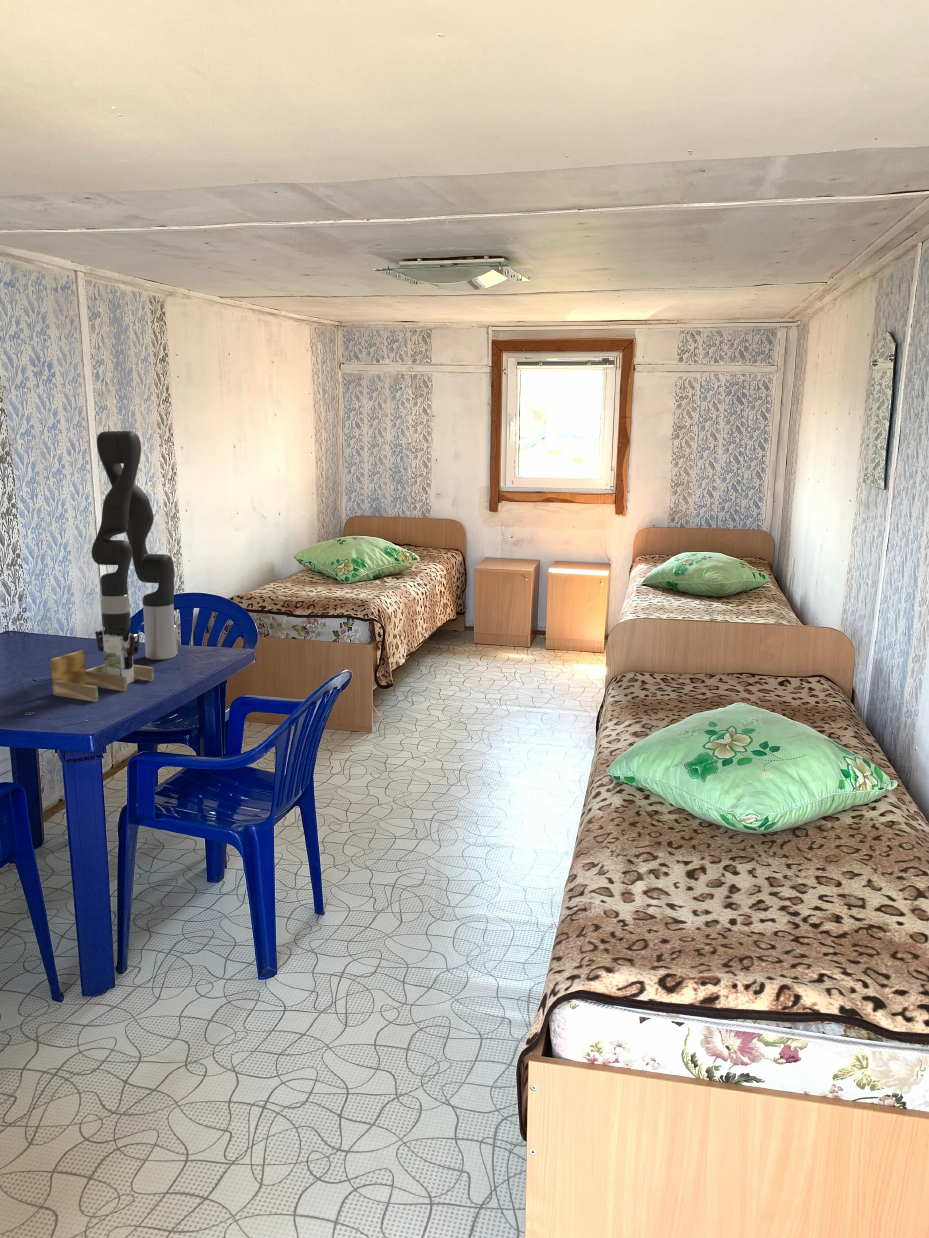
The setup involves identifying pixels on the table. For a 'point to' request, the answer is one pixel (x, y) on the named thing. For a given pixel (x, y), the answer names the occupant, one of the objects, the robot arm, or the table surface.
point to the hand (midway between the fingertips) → (119, 667)
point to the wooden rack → (88, 677)
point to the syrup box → (116, 657)
